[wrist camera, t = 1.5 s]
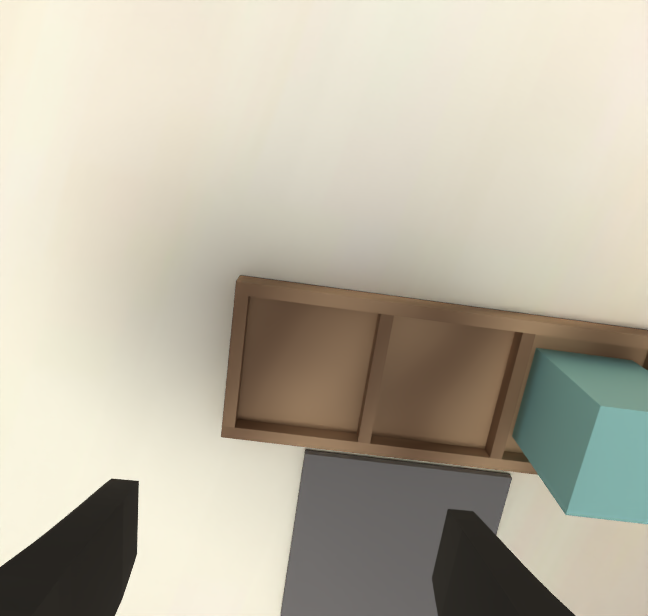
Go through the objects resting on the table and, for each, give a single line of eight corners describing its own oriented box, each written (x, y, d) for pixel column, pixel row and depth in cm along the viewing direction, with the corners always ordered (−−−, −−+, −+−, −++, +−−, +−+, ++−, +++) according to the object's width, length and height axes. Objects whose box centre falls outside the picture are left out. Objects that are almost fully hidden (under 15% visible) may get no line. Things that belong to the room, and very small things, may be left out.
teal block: (632, 360, 21) (724, 421, 16) (603, 447, 22) (681, 528, 18) (536, 347, 21) (600, 406, 16) (511, 435, 22) (565, 514, 17)
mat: (509, 474, 23) (511, 478, 23) (464, 633, 26) (466, 639, 25) (305, 450, 23) (305, 453, 22) (280, 614, 25) (280, 620, 25)
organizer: (661, 332, 21) (677, 340, 20) (613, 471, 23) (626, 484, 22) (239, 275, 20) (236, 281, 19) (225, 424, 22) (221, 436, 21)
